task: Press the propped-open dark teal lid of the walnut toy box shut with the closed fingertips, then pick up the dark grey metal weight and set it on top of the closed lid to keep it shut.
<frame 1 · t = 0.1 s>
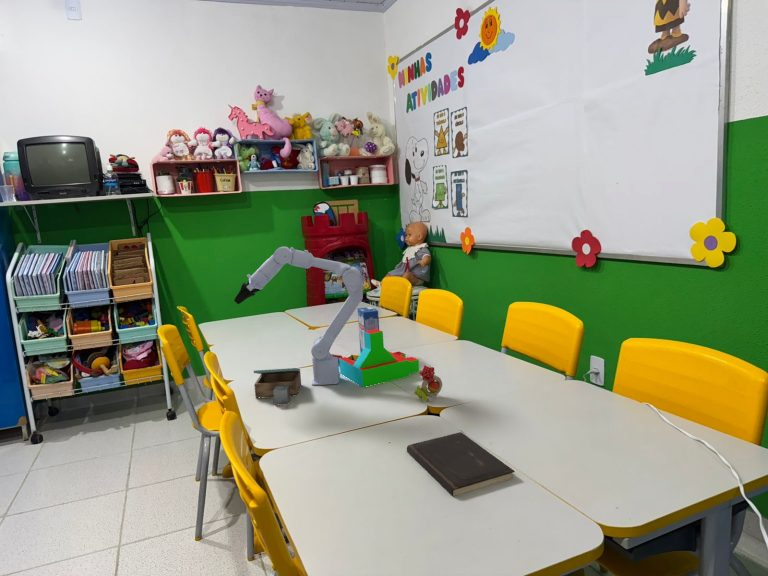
hand: (238, 300, 181), 32 cm above the table, tool tilted 50°, fingers open, 7 cm apart
hardcover book: (457, 467, 122), on the table
toy box: (279, 391, 179), on the table
milk carton: (370, 356, 216), on the table
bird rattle: (429, 399, 164), on the table
metal weight: (282, 402, 169), on the table
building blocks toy: (381, 374, 192), on the table
lid: (277, 371, 178), point 7 cm above the table, hinge at 20.0°
race car: (328, 366, 206), on the table
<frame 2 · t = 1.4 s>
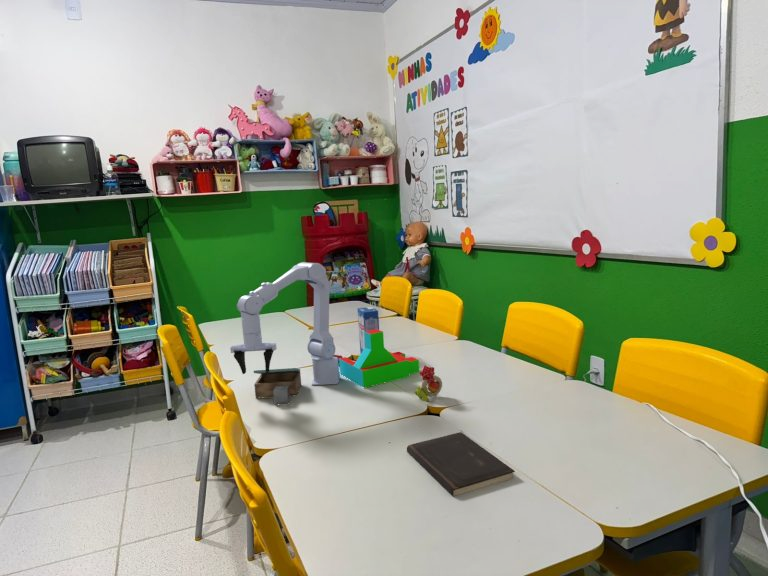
hand: (255, 372, 168), 10 cm above the table, tool pointing down, fingers open, 7 cm apart
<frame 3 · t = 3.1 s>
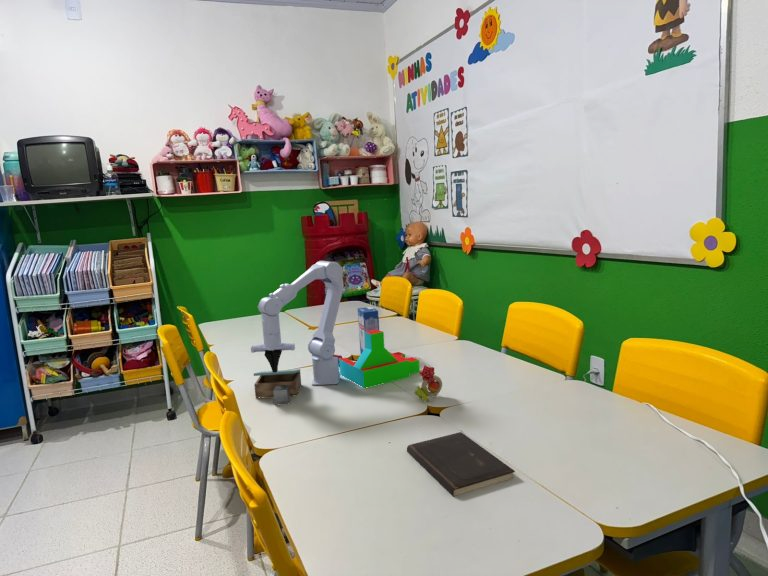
hand: (275, 371, 175), 8 cm above the table, tool pointing down, fingers closed, pressing on lid
lid: (277, 372, 178), point 7 cm above the table, hinge at 14.9°, touching gripper
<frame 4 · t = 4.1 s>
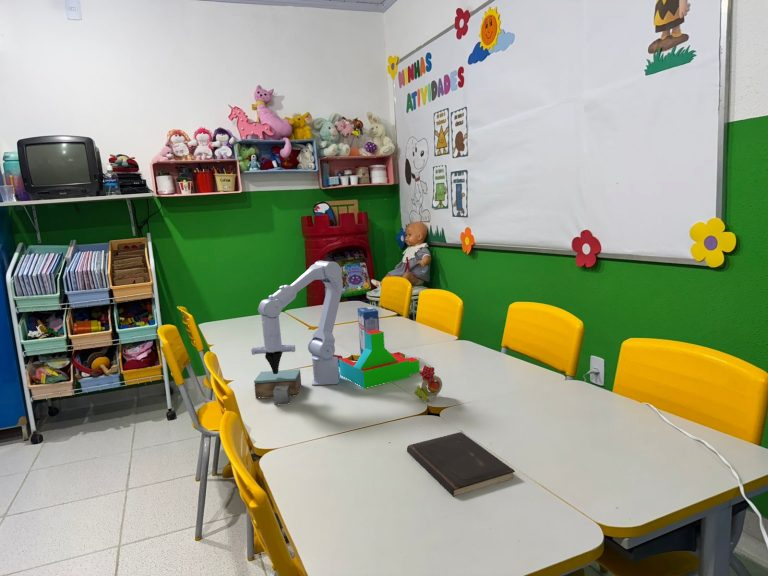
hand: (275, 373, 175), 8 cm above the table, tool pointing down, fingers closed
lid: (277, 376, 178), point 6 cm above the table, hinge at 1.8°, touching toy box
everything else where it was.
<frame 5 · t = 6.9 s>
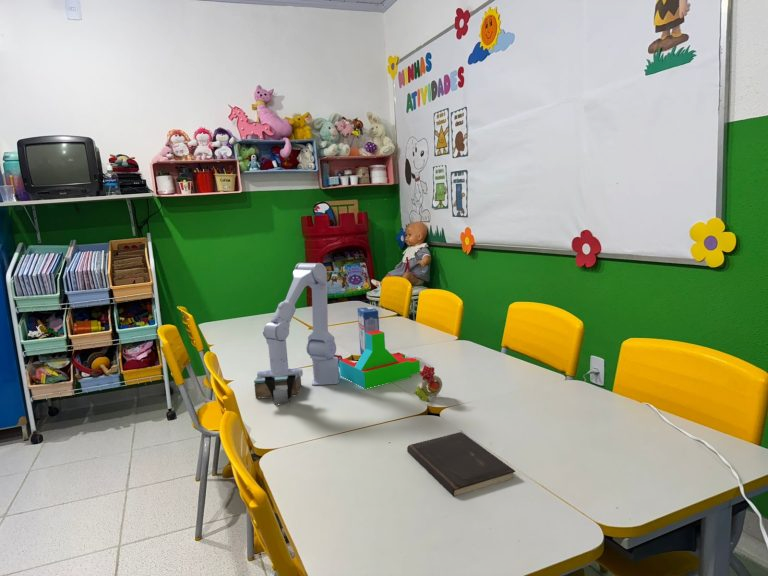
hand: (282, 398, 168), 1 cm above the table, tool pointing down, fingers closed on metal weight, 4 cm apart
metal weight: (282, 402, 169), on the table, touching gripper
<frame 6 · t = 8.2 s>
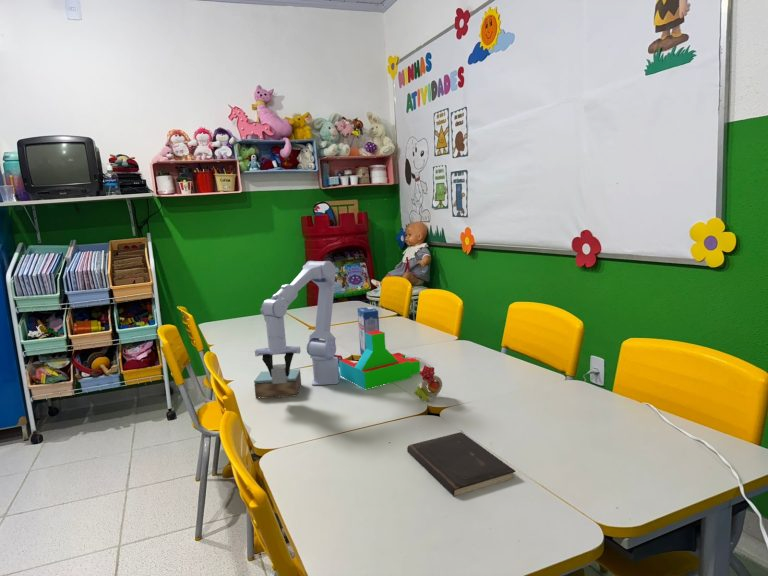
hand: (280, 375, 168), 9 cm above the table, tool pointing down, fingers closed on metal weight, 4 cm apart
metal weight: (280, 380, 168), point 7 cm above the table, touching gripper
when the fingers open (8 cm above the table, at t = 9.6 s): metal weight stays where it is, resting on lid.
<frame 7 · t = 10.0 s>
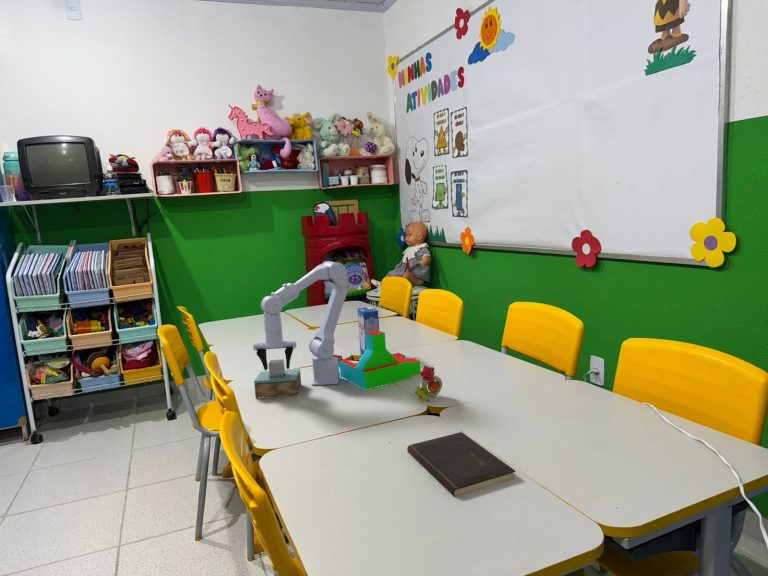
hand: (277, 368, 178), 8 cm above the table, tool pointing down, fingers open, 7 cm apart
metal weight: (277, 375, 178), point 6 cm above the table, touching lid
lid: (277, 376, 178), point 6 cm above the table, hinge at 1.7°, touching metal weight
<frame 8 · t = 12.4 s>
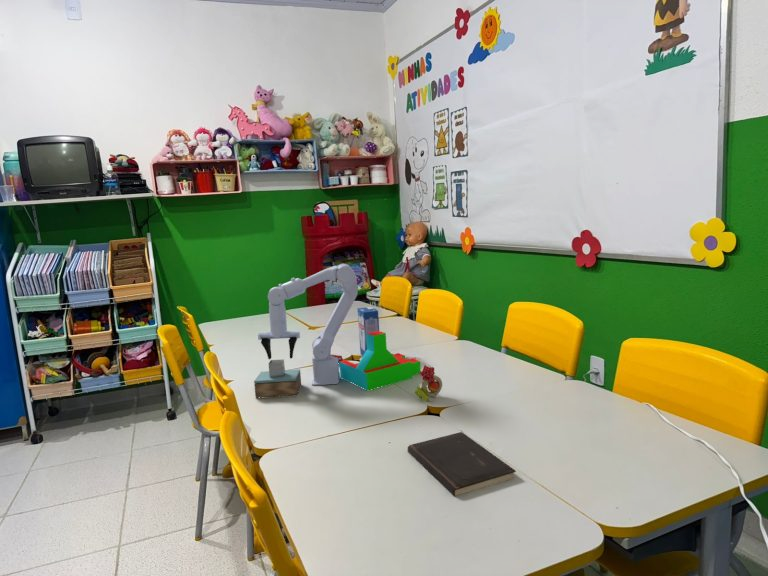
hand: (280, 358, 183), 10 cm above the table, tool pointing down, fingers open, 7 cm apart
at the end: lid at +2° (first picture: +20°); metal weight inside the target area on the toy box (0.5 cm from its centre), point 6.0 cm above the toy box's base; metal weight tilted 2° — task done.
